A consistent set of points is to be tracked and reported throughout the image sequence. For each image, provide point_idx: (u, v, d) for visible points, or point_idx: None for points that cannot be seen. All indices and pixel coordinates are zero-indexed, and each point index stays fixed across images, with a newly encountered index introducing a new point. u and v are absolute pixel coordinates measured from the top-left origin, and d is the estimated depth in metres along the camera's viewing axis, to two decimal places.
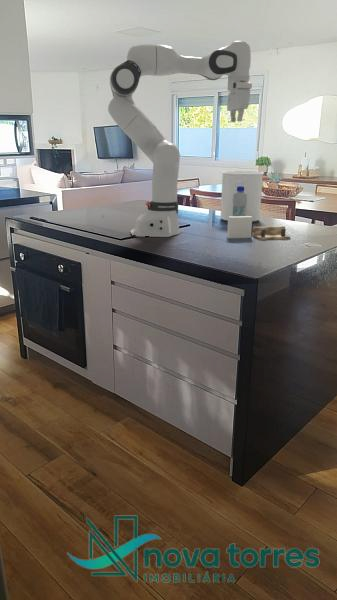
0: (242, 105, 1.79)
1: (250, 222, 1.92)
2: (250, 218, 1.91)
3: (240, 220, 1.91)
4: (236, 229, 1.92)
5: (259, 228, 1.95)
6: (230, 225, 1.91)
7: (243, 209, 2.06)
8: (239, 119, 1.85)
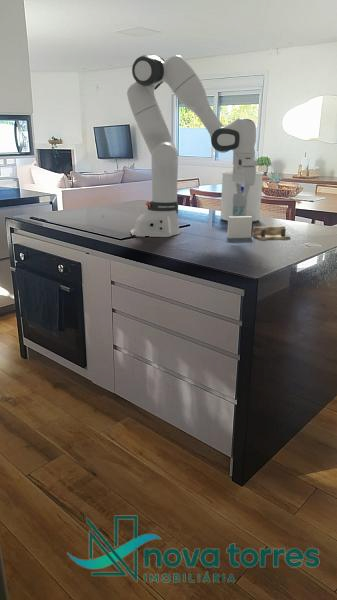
0: (248, 182, 1.77)
1: (250, 222, 1.92)
2: (250, 218, 1.91)
3: (240, 220, 1.91)
4: (236, 229, 1.92)
5: (259, 228, 1.95)
6: (230, 225, 1.91)
7: (243, 209, 2.06)
8: (245, 194, 1.83)
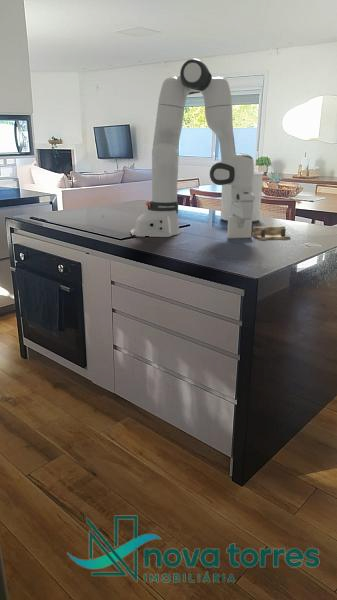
0: (245, 217, 1.81)
1: (250, 222, 1.92)
2: None
3: None
4: (236, 228, 1.92)
5: (259, 228, 1.95)
6: (230, 225, 1.91)
7: None
8: (240, 226, 1.90)
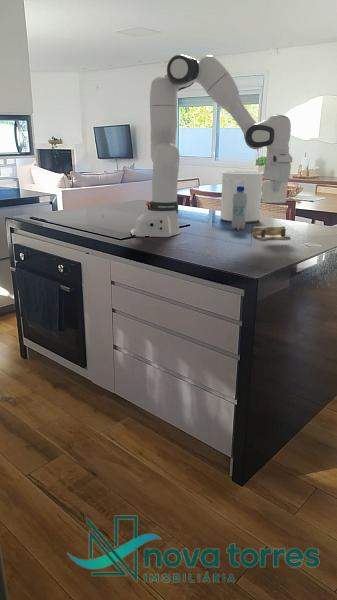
0: (283, 179, 1.77)
1: (285, 186, 1.88)
2: (286, 182, 1.87)
3: None
4: (271, 193, 1.88)
5: (259, 228, 1.95)
6: (265, 189, 1.87)
7: (243, 209, 2.06)
8: (276, 190, 1.86)
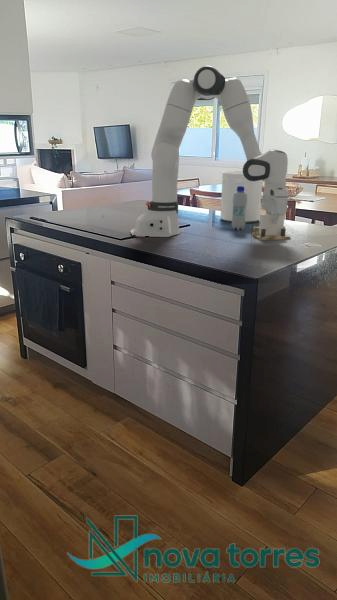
0: (279, 212, 1.82)
1: (282, 219, 1.92)
2: (282, 215, 1.92)
3: (272, 217, 1.91)
4: (268, 226, 1.92)
5: None
6: (262, 222, 1.91)
7: (243, 209, 2.06)
8: (274, 222, 1.89)
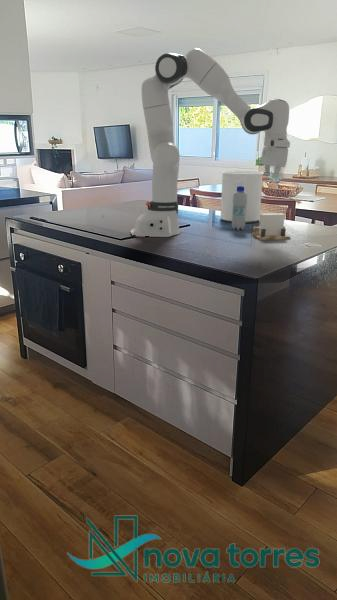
0: (280, 163, 1.76)
1: (282, 219, 1.92)
2: (282, 215, 1.92)
3: (272, 217, 1.91)
4: (268, 226, 1.92)
5: None
6: (262, 222, 1.91)
7: (243, 209, 2.06)
8: (275, 176, 1.82)
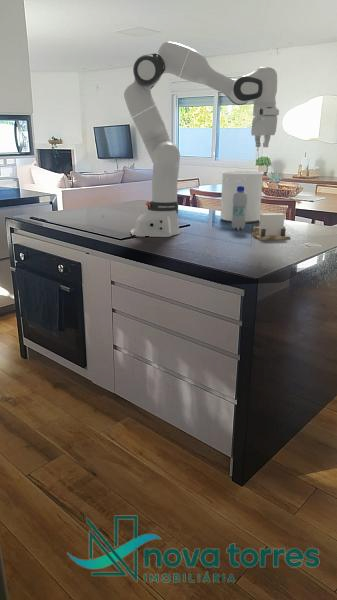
0: (269, 132, 1.76)
1: (282, 219, 1.92)
2: (282, 215, 1.92)
3: (272, 217, 1.91)
4: (268, 226, 1.92)
5: None
6: (262, 222, 1.91)
7: (243, 209, 2.06)
8: (265, 145, 1.82)
